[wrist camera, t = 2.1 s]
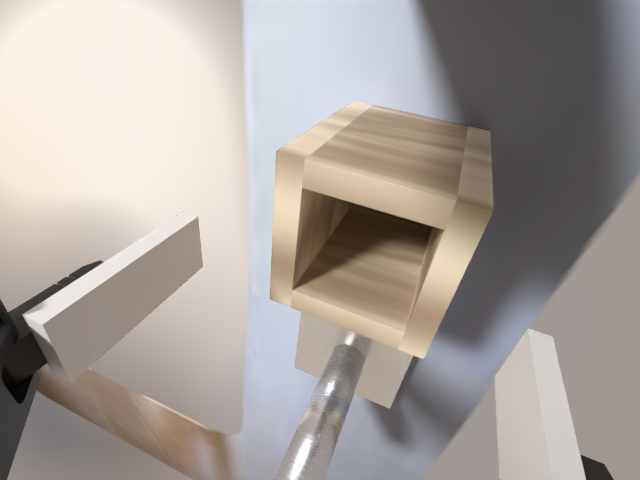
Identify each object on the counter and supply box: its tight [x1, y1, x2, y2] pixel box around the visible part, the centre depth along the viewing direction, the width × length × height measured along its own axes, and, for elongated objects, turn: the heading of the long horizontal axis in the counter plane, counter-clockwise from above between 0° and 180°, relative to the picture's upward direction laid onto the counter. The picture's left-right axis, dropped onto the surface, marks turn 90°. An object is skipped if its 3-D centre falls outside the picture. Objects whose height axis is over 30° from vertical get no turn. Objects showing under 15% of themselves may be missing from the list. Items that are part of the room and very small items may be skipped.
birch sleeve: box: [270, 101, 494, 359], centre depth 19 cm, size 8×8×10 cm
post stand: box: [274, 312, 413, 480], centre depth 27 cm, size 10×10×13 cm
